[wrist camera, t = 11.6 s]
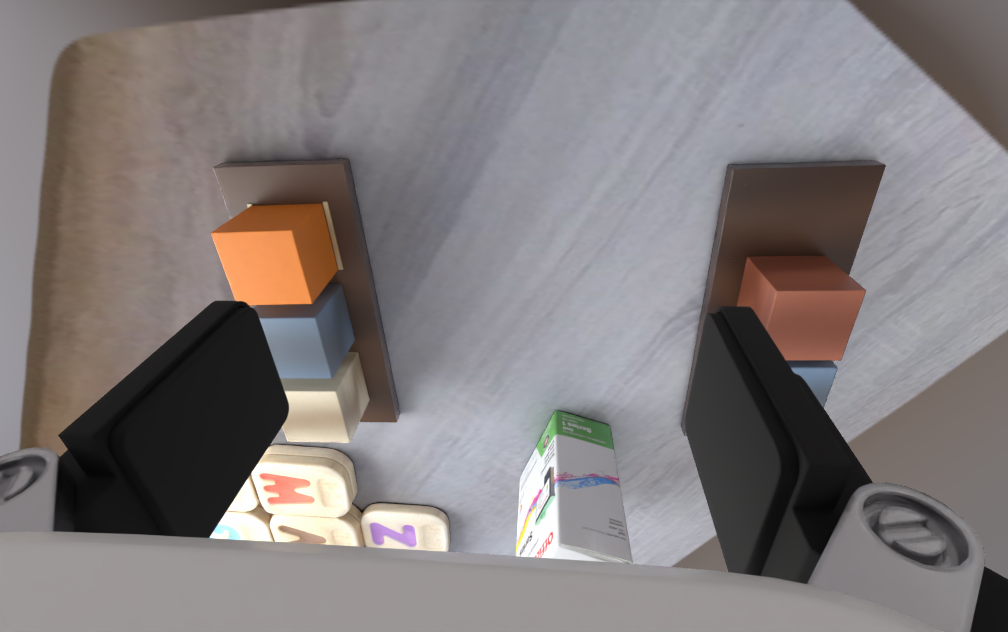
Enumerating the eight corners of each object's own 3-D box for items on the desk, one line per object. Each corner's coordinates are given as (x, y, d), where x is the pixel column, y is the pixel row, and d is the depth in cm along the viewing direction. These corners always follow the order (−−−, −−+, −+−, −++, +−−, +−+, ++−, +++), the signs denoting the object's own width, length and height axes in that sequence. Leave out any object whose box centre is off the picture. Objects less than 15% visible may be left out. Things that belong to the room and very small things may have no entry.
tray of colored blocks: (221, 162, 31) (162, 189, 26) (349, 158, 30) (312, 185, 25) (303, 412, 41) (272, 464, 36) (400, 413, 40) (380, 466, 35)
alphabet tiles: (458, 657, 59) (455, 680, 57) (192, 634, 61) (179, 656, 59) (446, 454, 42) (441, 477, 40) (76, 430, 44) (52, 451, 42)
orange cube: (250, 205, 31) (210, 232, 27) (322, 203, 30) (291, 230, 26) (271, 272, 33) (236, 305, 29) (338, 270, 33) (312, 304, 29)
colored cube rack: (727, 164, 29) (763, 193, 24) (876, 160, 28) (943, 189, 23) (681, 427, 39) (699, 483, 34) (788, 428, 38) (823, 486, 33)
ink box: (554, 407, 39) (557, 545, 28) (613, 425, 39) (637, 567, 29) (517, 478, 43) (508, 619, 33) (571, 493, 43) (578, 638, 33)
